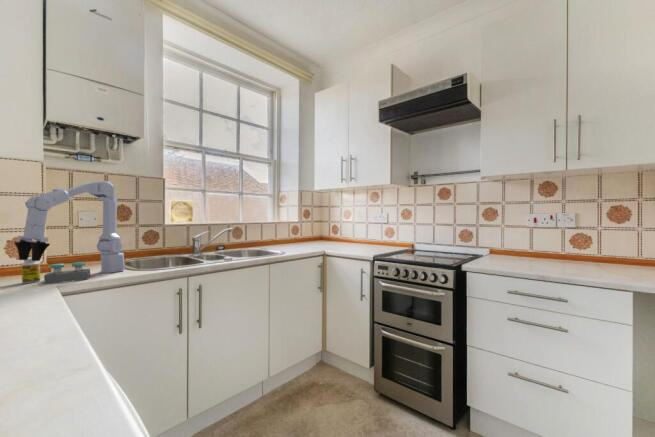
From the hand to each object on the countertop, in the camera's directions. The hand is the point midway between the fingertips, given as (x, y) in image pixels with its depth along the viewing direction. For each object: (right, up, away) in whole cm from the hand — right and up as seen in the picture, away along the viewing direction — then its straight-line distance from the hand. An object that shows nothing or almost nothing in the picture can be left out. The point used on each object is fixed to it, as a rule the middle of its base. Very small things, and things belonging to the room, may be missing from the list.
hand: (29, 260), depth 119 cm
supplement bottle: (-8, -11, +9) cm, 16 cm away
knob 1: (+1, -8, +11) cm, 13 cm away
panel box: (+4, -10, +13) cm, 17 cm away
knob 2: (+7, -8, +15) cm, 18 cm away
